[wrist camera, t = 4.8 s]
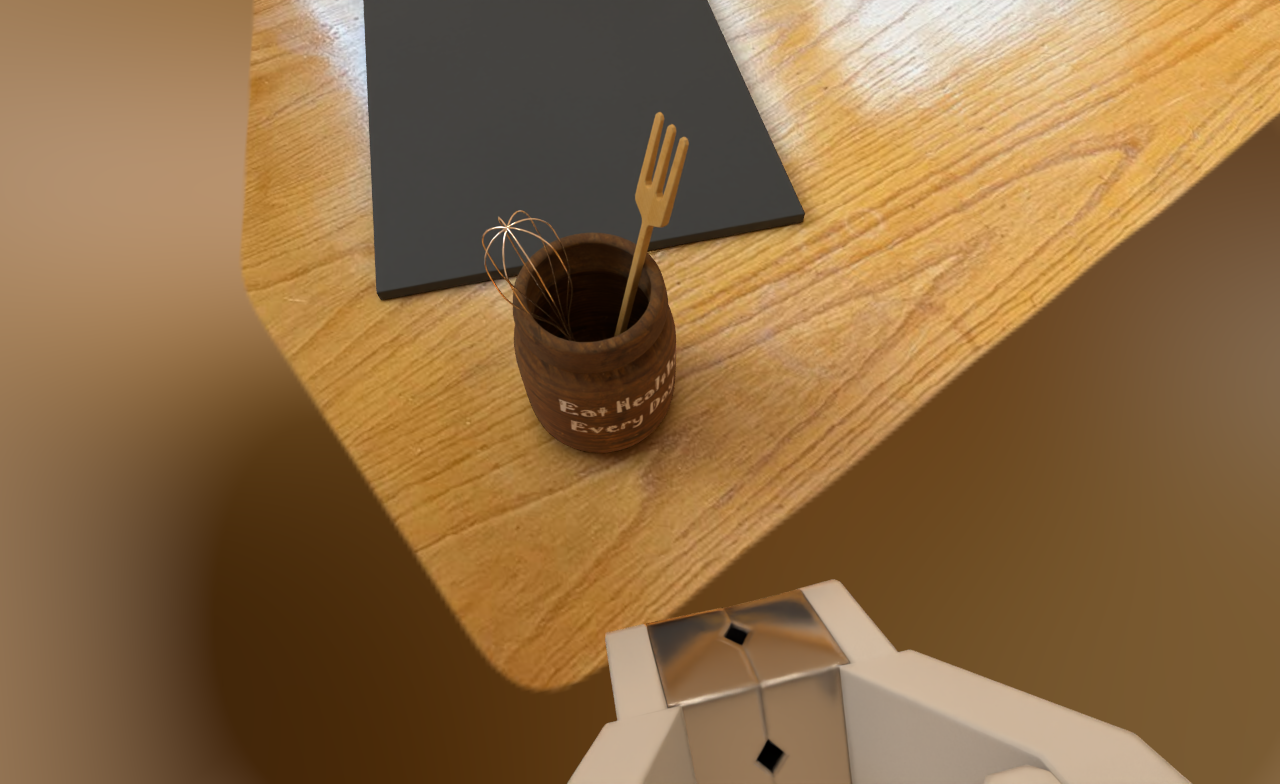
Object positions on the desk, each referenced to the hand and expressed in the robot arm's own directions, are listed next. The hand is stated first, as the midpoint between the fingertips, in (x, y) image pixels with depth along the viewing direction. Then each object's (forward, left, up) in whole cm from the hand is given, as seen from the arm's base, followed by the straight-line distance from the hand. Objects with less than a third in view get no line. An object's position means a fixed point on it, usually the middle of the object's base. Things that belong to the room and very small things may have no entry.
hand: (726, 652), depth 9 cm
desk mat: (+1, +38, -16) cm, 42 cm away
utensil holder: (0, +13, -16) cm, 21 cm away
